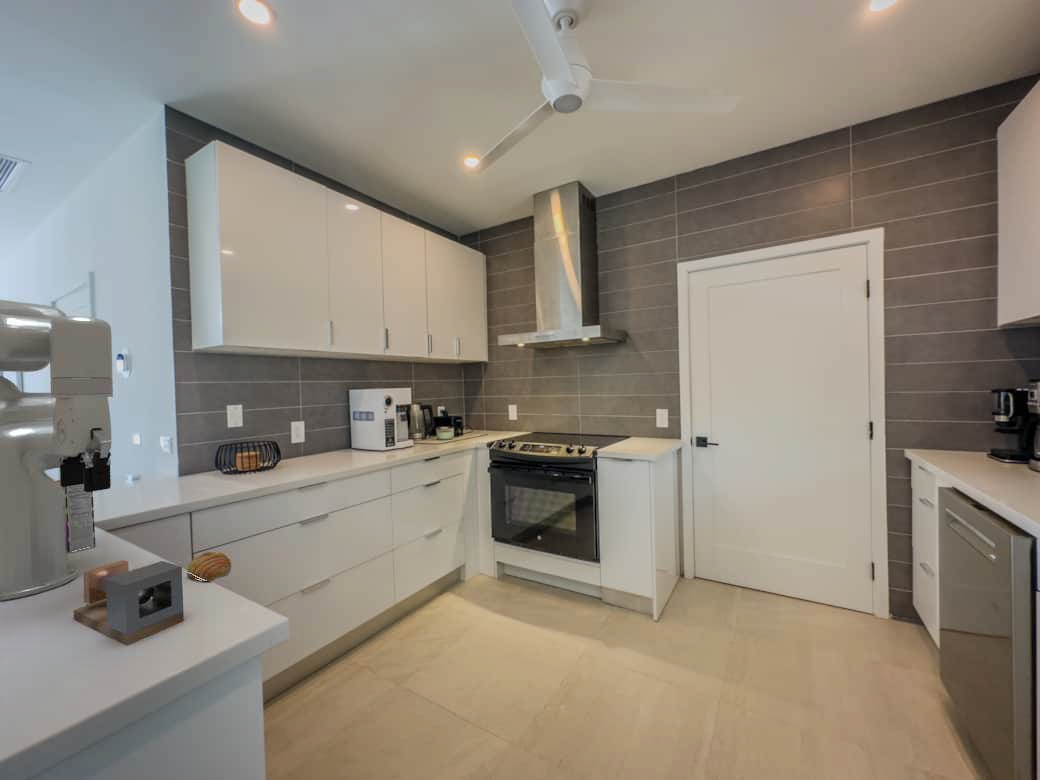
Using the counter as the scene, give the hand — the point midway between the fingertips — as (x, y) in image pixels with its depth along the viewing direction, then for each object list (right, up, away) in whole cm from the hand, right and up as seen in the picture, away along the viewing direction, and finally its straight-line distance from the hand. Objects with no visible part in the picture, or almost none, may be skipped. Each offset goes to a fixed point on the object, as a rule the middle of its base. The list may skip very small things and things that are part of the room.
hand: (85, 487), depth 74 cm
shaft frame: (+14, -20, -7) cm, 25 cm away
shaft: (+12, -17, -5) cm, 21 cm away
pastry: (+14, -20, +11) cm, 27 cm away
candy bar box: (-34, -22, +31) cm, 51 cm away
